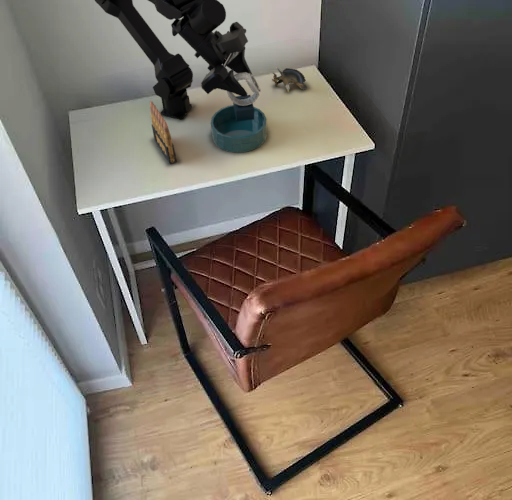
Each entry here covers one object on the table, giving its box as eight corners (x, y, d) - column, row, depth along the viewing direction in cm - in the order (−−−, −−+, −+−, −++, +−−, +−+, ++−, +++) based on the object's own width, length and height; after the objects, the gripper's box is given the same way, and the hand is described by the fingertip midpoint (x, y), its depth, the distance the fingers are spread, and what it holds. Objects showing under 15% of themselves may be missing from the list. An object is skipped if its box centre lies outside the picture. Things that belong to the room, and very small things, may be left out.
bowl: (203, 145, 145) (201, 131, 141) (225, 114, 153) (224, 99, 149) (254, 157, 141) (253, 143, 138) (274, 125, 149) (274, 110, 146)
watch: (262, 118, 142) (262, 80, 133) (229, 122, 141) (227, 84, 132) (258, 103, 145) (258, 66, 136) (226, 107, 144) (224, 69, 135)
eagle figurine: (273, 94, 156) (306, 89, 154) (269, 67, 154) (303, 61, 153) (277, 94, 163) (308, 88, 162) (273, 67, 162) (305, 62, 160)
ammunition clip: (154, 140, 147) (146, 100, 138) (161, 138, 147) (153, 97, 138) (169, 164, 140) (162, 124, 131) (176, 162, 141) (169, 121, 132)
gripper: (210, 40, 120) (262, 93, 126) (236, -2, 131) (283, 49, 138) (179, 68, 127) (229, 117, 134) (207, 27, 139) (252, 73, 145)
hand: (249, 88), depth 137 cm, fingers closed on watch, 6 cm apart
